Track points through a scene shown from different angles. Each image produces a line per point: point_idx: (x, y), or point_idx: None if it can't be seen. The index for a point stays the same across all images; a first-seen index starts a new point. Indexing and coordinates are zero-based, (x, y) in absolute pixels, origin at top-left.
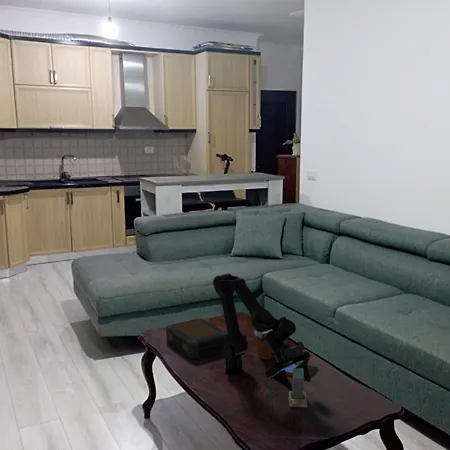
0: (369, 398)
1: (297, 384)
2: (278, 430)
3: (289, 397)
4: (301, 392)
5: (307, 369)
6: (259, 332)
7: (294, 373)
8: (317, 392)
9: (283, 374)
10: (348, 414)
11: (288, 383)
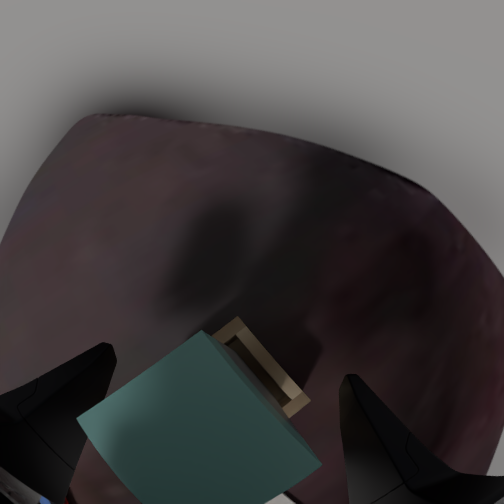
0: (47, 183)
1: (263, 391)
2: (452, 301)
3: None
4: (239, 359)
5: (29, 388)
6: None
7: (312, 451)
8: None
9: (458, 481)
10: (167, 170)
11: (391, 415)
